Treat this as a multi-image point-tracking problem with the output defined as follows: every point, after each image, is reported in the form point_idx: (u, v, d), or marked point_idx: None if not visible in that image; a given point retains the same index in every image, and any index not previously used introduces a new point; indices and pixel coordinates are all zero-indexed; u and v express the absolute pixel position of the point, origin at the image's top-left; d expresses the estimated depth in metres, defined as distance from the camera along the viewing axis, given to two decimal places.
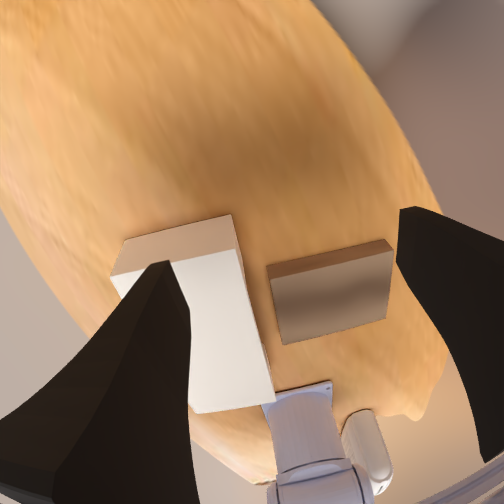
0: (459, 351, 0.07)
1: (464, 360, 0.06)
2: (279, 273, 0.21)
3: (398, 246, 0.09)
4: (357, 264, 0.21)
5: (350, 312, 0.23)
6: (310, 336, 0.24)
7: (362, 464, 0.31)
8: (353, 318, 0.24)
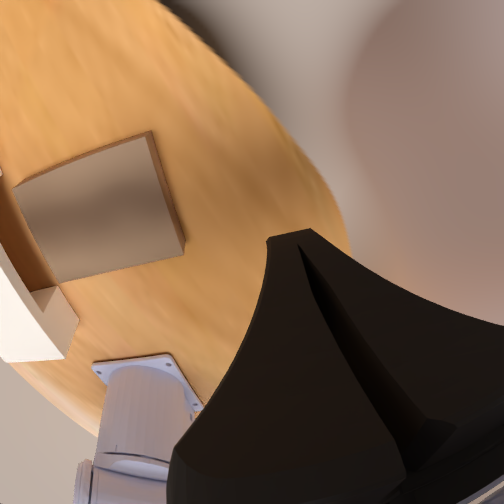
0: None
1: None
2: (23, 182, 0.14)
3: None
4: (96, 162, 0.14)
5: (119, 238, 0.17)
6: (83, 273, 0.18)
7: None
8: (127, 249, 0.17)
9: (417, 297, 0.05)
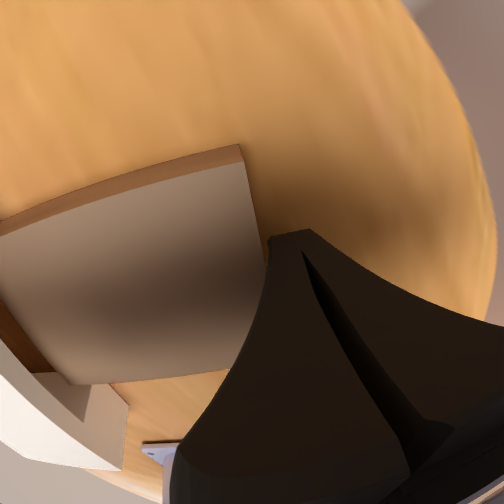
0: None
1: None
2: None
3: None
4: (129, 211, 0.07)
5: (174, 340, 0.10)
6: (110, 378, 0.11)
7: None
8: (188, 354, 0.10)
9: (416, 297, 0.05)
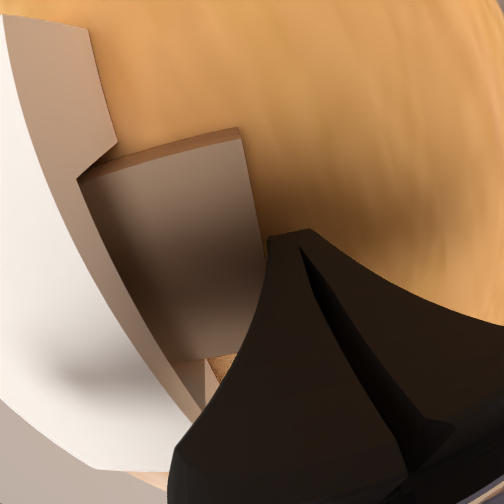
0: None
1: None
2: None
3: None
4: (127, 188, 0.07)
5: (169, 324, 0.10)
6: None
7: None
8: (184, 339, 0.10)
9: (417, 297, 0.05)
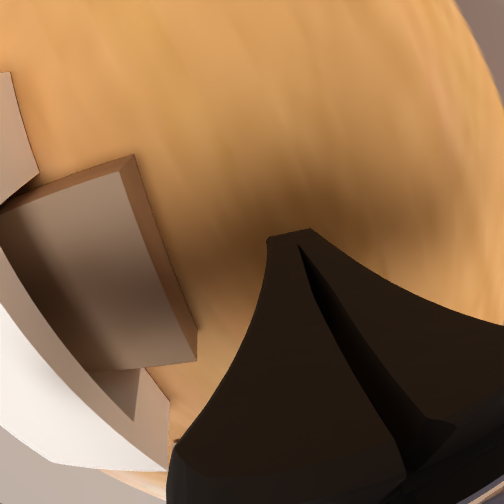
0: None
1: None
2: None
3: None
4: (36, 218, 0.07)
5: (91, 336, 0.09)
6: None
7: None
8: (106, 350, 0.10)
9: (417, 297, 0.05)
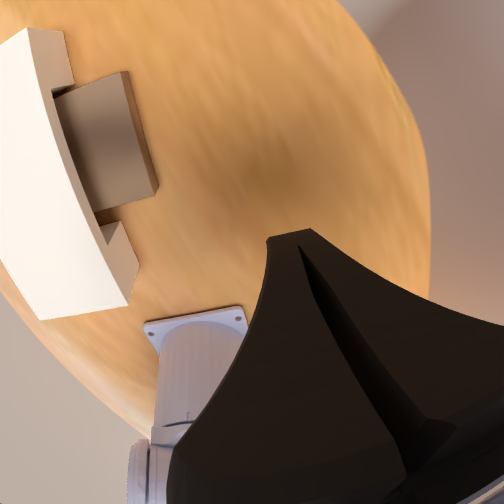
0: None
1: None
2: None
3: None
4: (72, 100, 0.13)
5: (90, 179, 0.15)
6: None
7: None
8: (98, 190, 0.16)
9: (417, 297, 0.05)
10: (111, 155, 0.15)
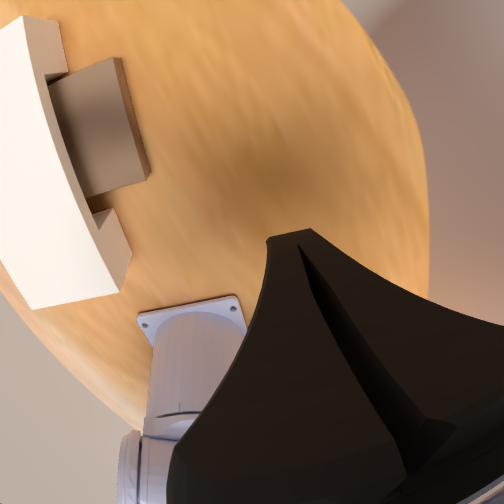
0: None
1: None
2: None
3: None
4: (66, 86, 0.12)
5: (82, 164, 0.15)
6: None
7: None
8: (90, 176, 0.15)
9: (417, 297, 0.05)
10: (103, 140, 0.14)
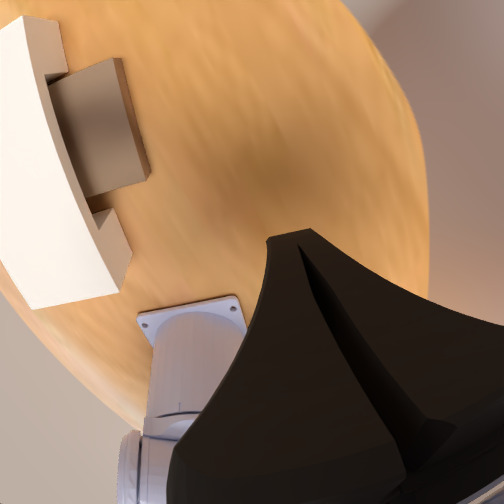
0: None
1: None
2: None
3: None
4: (66, 86, 0.12)
5: (82, 164, 0.15)
6: None
7: None
8: (90, 176, 0.15)
9: (417, 297, 0.05)
10: (103, 140, 0.14)
